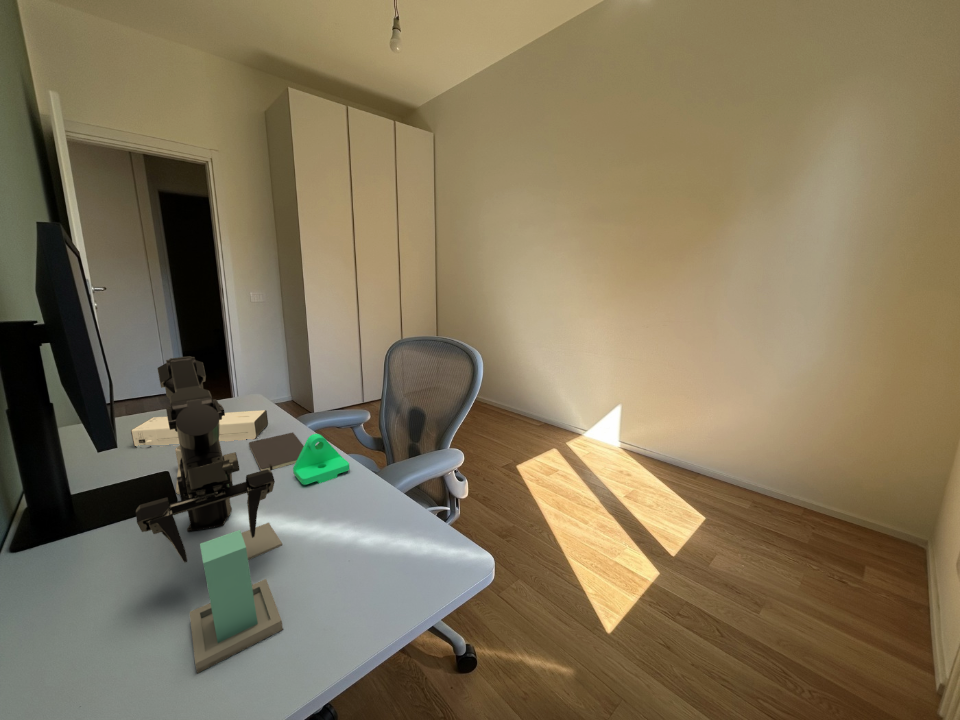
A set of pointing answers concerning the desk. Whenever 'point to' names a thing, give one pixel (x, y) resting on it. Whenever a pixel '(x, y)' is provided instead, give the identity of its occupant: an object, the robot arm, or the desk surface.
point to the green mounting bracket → (318, 461)
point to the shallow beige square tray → (214, 652)
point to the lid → (261, 541)
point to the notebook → (276, 451)
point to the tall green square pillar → (229, 584)
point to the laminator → (229, 428)
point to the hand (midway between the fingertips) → (221, 548)
